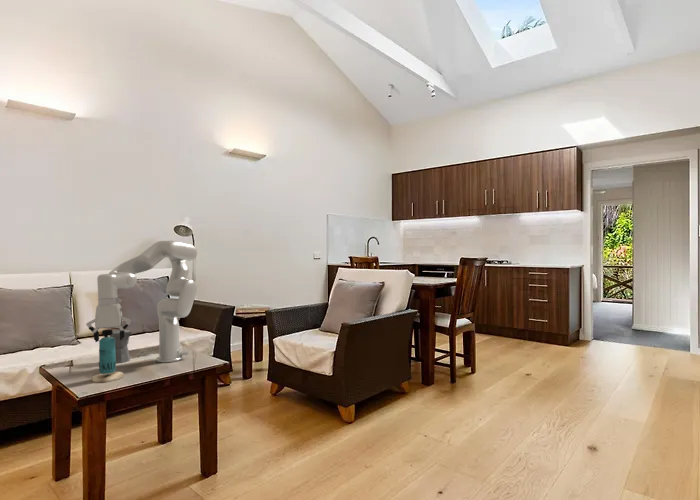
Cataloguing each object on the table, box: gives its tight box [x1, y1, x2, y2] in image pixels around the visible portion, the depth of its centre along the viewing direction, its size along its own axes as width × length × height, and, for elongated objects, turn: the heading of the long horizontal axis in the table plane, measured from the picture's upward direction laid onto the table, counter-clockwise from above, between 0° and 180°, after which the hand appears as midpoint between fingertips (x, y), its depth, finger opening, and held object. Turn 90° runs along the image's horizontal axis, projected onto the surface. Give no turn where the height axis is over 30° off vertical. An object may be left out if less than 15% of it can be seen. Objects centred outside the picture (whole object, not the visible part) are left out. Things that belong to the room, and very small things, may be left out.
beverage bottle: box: [98, 329, 117, 374], centre depth 182 cm, size 6×7×20 cm
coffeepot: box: [103, 328, 133, 364], centre depth 212 cm, size 15×9×18 cm, turn 82°
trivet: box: [91, 371, 125, 384], centre depth 182 cm, size 12×12×1 cm
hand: (109, 340), depth 183 cm, fingers open, 9 cm apart
